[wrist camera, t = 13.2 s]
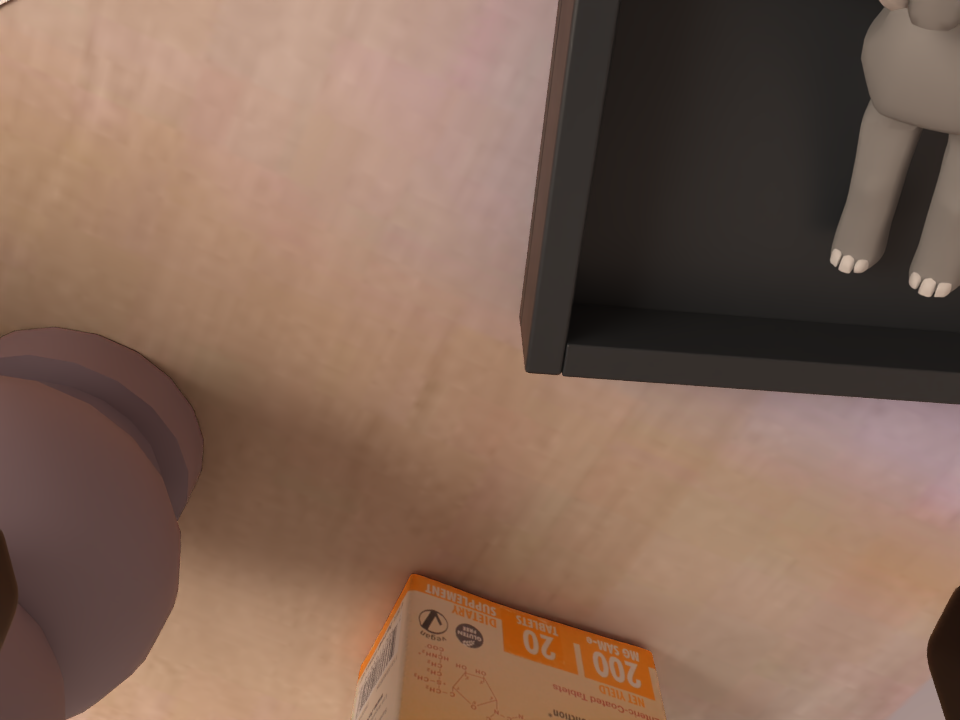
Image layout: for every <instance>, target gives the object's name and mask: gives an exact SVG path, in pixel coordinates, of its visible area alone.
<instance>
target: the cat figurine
mask: <svg viewBox="0 0 960 720" xmlns="http://www.w3.org/2000/svg"><path fill="white" fill-rule="evenodd" d="M202 458H203V437H202V434H201V431H200V428H199V425H198V422H197V419H196V416H195V413H194V410H193V408H192V406H191V405H190V404H189V402H188V401H187V400H186V398H185V397H184V396H183V394H182V393H181V392H180V390H179V389H178V388H177V386H176V385H175V384H174V382H173V381H172V380H171V378H170V377H168V376H167V375H166V374H165V373H163V372H162V371H161V370H159V369H158V368H157V367H156V366H154V365H153V364H152V363H150V362H149V361H148V360H147V359H145V358H144V357H143V356H141V355H140V354H139V353H138V352H135V351H133V350H131V349H129V348H127V347H124V346H122V345H120V344H118V343H115V342H113V341H111V340H109V339H106V338H104V337H102V336H100V335H97V334H91V333H86V332H80V331H74V330H69V329H63V328H57V327H50V328H40V329H29V330H19V331H13V332H11V333H9V334H7V335H4V336H2V337H0V529H1V531H2V532H3V534H4V537H5V540H6V544H7V548H8V552H9V555H10V559H11V563H12V567H13V570H14V574H15V578H16V582H17V586H18V604H17V609H16V613H15V616H14V618H13V621H12V623H11V626H10V629H9V631H8V634H7V636H6V639H5V641H4V644H3V646H2V649H1V652H0V720H66V719H69V718H71V717H73V716H76V715H78V714H80V713H83V712H84V711H86V710H87V709H88V708H90V707H91V706H93V705H94V704H95V703H97V702H98V701H100V700H101V699H102V698H103V697H105V696H106V695H107V694H108V693H109V692H111V691H112V690H113V689H114V688H116V687H117V686H118V685H119V684H121V683H122V682H123V681H124V680H126V679H127V678H128V677H129V676H130V675H132V674H133V673H134V671H135V670H136V669H137V668H138V667H139V666H140V665H141V664H142V663H143V662H144V660H145V659H146V657H147V655H148V654H149V652H150V650H151V648H152V646H153V645H154V643H155V641H156V639H157V637H158V635H159V633H160V632H161V630H162V628H163V626H164V624H165V622H166V620H167V618H168V616H169V615H170V613H171V611H172V609H173V607H174V604H175V600H176V596H177V592H178V584H179V568H180V552H181V532H180V529H179V526H178V523H177V521H178V519H179V517H180V515H181V513H182V511H183V509H184V507H185V505H186V503H187V501H188V499H189V497H190V495H191V493H192V490H193V488H194V486H195V484H196V482H197V479H198V477H199V475H200V473H201V471H202Z"/></svg>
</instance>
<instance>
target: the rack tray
mask: <svg viewBox="0 0 960 720" xmlns="http://www.w3.org/2000/svg"><path fill="white" fill-rule="evenodd" d="M883 8H884V6H883V5H882V4H881V2H880V1H879V0H559V2H558V10H557V18H556V27H555V35H554V43H553V51H552V59H551V67H550V75H549V83H548V91H547V99H546V107H545V115H544V123H543V131H542V139H541V147H540V155H539V163H538V171H537V179H536V187H535V196H534V204H533V212H532V220H531V228H530V236H529V244H528V252H527V260H526V268H525V276H524V284H523V292H522V300H521V308H520V316H519V317H520V326H521V335H522V345H523V355H524V365H525V370H526V372H528V373H536V374H550V375H560V374H561V372H562V375H563V376H567V377H582V378H596V379H610V380H624V381H638V382H652V383H666V384H680V385H694V386H708V387H722V388H736V389H750V390H764V391H778V392H792V393H806V394H820V395H834V396H848V397H863V398H877V399H891V400H905V401H919V402H933V403H947V404H960V286H958V287H957V288H956V289H955V290H953V291H952V292H950V293H949V294H948V295H946V296H945V297H934V295H935V292H936V291H934V293H933V294H932V296H931V297H926V296H923V295H920V294H919V293H918V291H919V288H920V286H918V288H917V289H914V288H912V287H911V286H910V285H909V269H910V265H911V263H912V260H913V257H914V255H915V253H916V250H917V248H918V245H919V242H920V238H921V235H922V232H923V228H924V224H925V221H926V217H927V214H928V210H929V207H930V204H931V201H932V197H933V194H934V191H935V187H936V184H937V181H938V177H939V173H940V169H941V165H942V161H943V157H944V153H945V150H946V146H947V143H948V138H949V133H943V132H938V131H933V130H928V129H924V128H923V129H922V132H921V135H920V138H919V141H918V143H917V146H916V148H915V151H914V154H913V156H912V159H911V162H910V165H909V168H908V171H907V175H906V178H905V182H904V185H903V188H902V191H901V195H900V198H899V201H898V204H897V207H896V210H895V214H894V217H893V220H892V223H891V227H890V232H889V236H888V241H887V245H886V249H885V252H884V254H883V256H882V257H881V259H880V260H879V261H878V262H877V263H876V264H874V265H873V266H872V267H870V268H869V269H867V270H866V271H864V272H862V273H854V268H853V269H852V271H851V272H850V273H844V272H841V271H840V270H839V265H840V263H839V264H838V265H837V266H836V267H835V266H834V265H833V264H831V262H830V258H831V248H832V243H833V240H834V236H835V233H836V230H837V227H838V224H839V221H840V218H841V215H842V212H843V210H844V207H845V204H846V200H847V197H848V193H849V188H850V183H851V178H852V173H853V168H854V163H855V158H856V152H857V146H858V140H859V133H860V127H861V123H862V119H863V116H864V113H865V111H866V108H867V106H868V104H869V102H870V99H871V98H870V95H869V91H868V87H867V83H866V79H865V75H864V70H863V65H862V61H861V55H862V50H863V44H864V39H865V36H866V33H867V31H868V29H869V27H870V25H871V24H872V22H873V20H874V19H875V18H876V17H877V16H878V15H879V13H880V12H881V11H882V9H883Z"/></svg>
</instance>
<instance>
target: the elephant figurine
mask: <svg viewBox="0 0 960 720" xmlns="http://www.w3.org/2000/svg"><path fill="white" fill-rule="evenodd" d="M879 1H880V2H881V4H882V5H883V6H884V8H883V9H882V11H881V12H880V13H879V15H878V16H877V17H876V18H875V19H874V20H873V22H872V24H871V25H870V27H869V29H868V31H867V33H866V36H865V39H864V44H863V50H862V55H861V61H862V65H863V70H864V75H865V79H866V83H867V87H868V91H869V95H870V98H871V99H870V102H869V104H868V106H867V108H866V111H865V113H864V116H863V119H862V123H861V127H860V133H859V140H858V146H857V152H856V158H855V163H854V168H853V173H852V178H851V183H850V188H849V193H848V197H847V200H846V204H845V207H844V210H843V212H842V215H841V218H840V221H839V224H838V227H837V230H836V233H835V236H834V240H833V243H832V248H831V258H830V262H831V264H833V265H834V266H835V267H836V266H837V265H838V264H839V263H840V265H839V270H840V271H841V272H844V273H850V272H851V271H852V269H853V268H854V273H862V272H864V271H866V270H867V269H869V268H870V267H872V266H873V265H874V264H876V263H877V262H878V261H879V260H880V259H881V257H882V256H883V254H884V252H885V249H886V245H887V241H888V236H889V232H890V227H891V223H892V220H893V217H894V214H895V210H896V207H897V204H898V201H899V198H900V195H901V191H902V188H903V185H904V182H905V178H906V175H907V171H908V168H909V165H910V162H911V159H912V156H913V154H914V151H915V148H916V146H917V143H918V141H919V138H920V135H921V132H922V129H923V128H924V129H928V130H933V131H938V132H943V133H949V138H948V143H947V146H946V150H945V153H944V157H943V161H942V165H941V169H940V173H939V177H938V181H937V184H936V187H935V191H934V194H933V197H932V201H931V204H930V207H929V210H928V214H927V217H926V221H925V224H924V228H923V232H922V235H921V238H920V242H919V245H918V248H917V250H916V253H915V255H914V257H913V260H912V263H911V265H910V269H909V285H910V286H911V287H912V288H914V289H917V288H918V286H920V288H919V291H918V293H919V294H920V295H923V296H926V297H931V296H932V294H933V293H934V291H936V292H935V295H934V297H945V296H946V295H948V294H949V293H950V292H952V291H953V290H955V289H956V288H957V287H958V286H960V0H879Z"/></svg>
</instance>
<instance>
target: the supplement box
mask: <svg viewBox="0 0 960 720" xmlns="http://www.w3.org/2000/svg"><path fill="white" fill-rule="evenodd" d="M351 720H666V716H665V711H664V706H663V702H662V697H661V692H660V687H659V682H658V678H657V673H656V669H655V664H654V660H653V655H652V653H651V652H650V651H649V650H646V649H643V648H640V647H637V646H634V645H629V644H627V643H623V642H619V641H616V640H613V639H609V638H606V637H603V636H600V635H596V634H594V633H591V632H586V631H583V630H580V629H577V628H574V627H570V626H567V625H564V624H561V623H557V622H555V621H550V620H548V619H545V618H540V617H538V616H534V615H530V614H528V613H525V612H521V611H519V610H516V609H512V608H509V607H507V606H504V605H499V604H497V603H494V602H491V601H489V600H486V599H483V598H481V597H478V596H475V595H473V594H470V593H467V592H464V591H462V590H460V589H457V588H453V587H452V586H449V585H445V584H443V583H440V582H438V581H436V580H432V579H429V578H426V577H424V576H421V575H417V574H411V575H410V577H409V579H408V581H407V583H406V585H405V587H404V589H403V591H402V593H401V594H400V596H399V598H398V600H397V602H396V604H395V606H394V608H393V609H392V611H391V614H390V615H389V617H388V619H387V620H386V623H385V624H384V627H383V628H382V629H381V632H380V634H379V635H378V637H377V639H376V640H375V643H374V645H373V646H372V648H371V649H370V652H369V653H368V655H367V657H366V658H365V660H364V662H363V663H362V665H361V669H360V672H359V677H358V682H357V687H356V693H355V699H354V704H353V710H352V716H351Z"/></svg>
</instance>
